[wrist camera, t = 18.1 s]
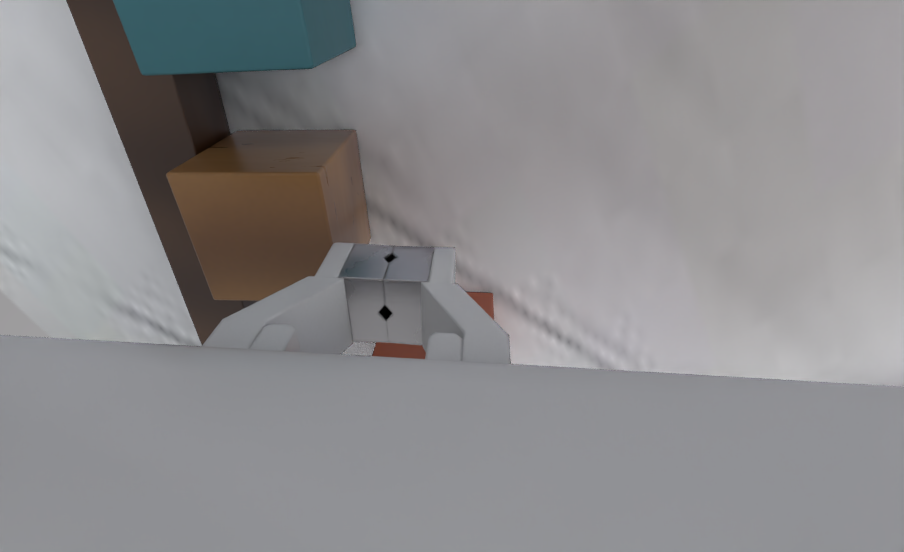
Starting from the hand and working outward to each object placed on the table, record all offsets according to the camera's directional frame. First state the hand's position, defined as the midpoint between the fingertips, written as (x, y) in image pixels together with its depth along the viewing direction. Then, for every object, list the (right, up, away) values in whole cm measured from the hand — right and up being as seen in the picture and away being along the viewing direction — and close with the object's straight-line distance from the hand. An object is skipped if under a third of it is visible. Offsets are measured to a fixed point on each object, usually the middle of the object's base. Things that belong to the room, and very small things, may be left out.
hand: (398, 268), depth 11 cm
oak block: (-4, +3, +6) cm, 8 cm away
